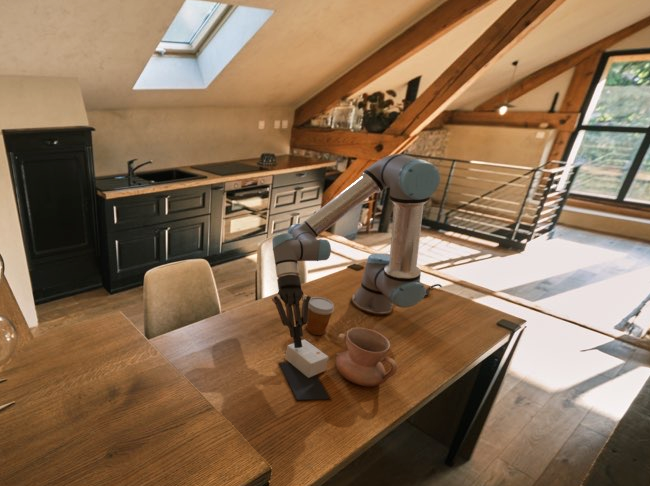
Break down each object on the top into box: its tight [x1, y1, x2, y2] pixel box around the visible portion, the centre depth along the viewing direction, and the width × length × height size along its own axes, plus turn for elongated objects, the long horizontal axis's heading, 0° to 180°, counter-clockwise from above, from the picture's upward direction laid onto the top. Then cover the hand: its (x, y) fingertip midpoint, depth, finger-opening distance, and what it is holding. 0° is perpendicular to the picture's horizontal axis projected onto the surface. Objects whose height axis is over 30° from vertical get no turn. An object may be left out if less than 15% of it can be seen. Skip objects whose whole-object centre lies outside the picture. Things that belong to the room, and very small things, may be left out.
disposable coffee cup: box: [306, 296, 335, 336], centre depth 141 cm, size 10×10×12 cm
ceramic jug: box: [335, 326, 398, 387], centre depth 119 cm, size 18×14×14 cm
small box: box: [285, 339, 330, 378], centre depth 124 cm, size 8×6×10 cm
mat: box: [278, 361, 331, 401], centre depth 119 cm, size 16×10×1 cm, turn 4°
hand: (298, 347), depth 123 cm, fingers closed
